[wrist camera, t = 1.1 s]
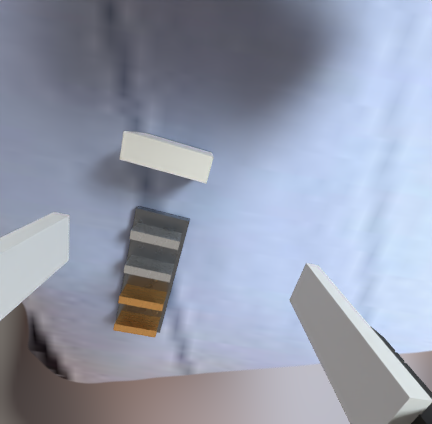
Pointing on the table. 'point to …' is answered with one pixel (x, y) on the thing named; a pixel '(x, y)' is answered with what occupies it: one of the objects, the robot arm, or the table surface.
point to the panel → (166, 155)
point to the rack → (149, 270)
